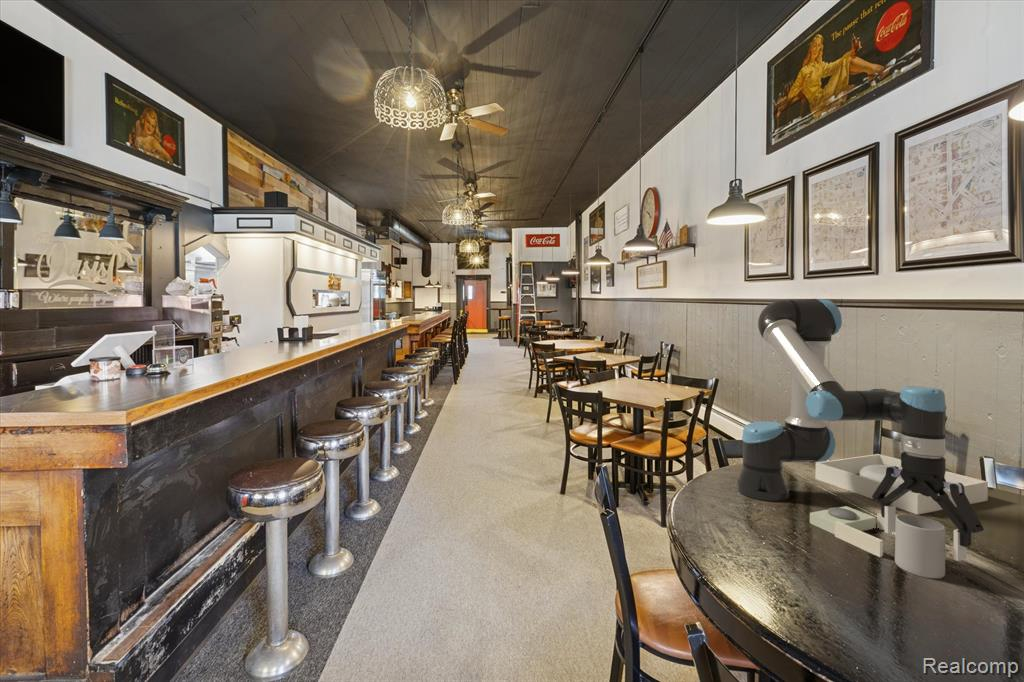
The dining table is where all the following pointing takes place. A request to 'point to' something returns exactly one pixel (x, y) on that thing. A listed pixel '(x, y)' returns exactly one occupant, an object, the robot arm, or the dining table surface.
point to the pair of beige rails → (851, 527)
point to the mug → (920, 546)
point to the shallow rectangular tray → (846, 478)
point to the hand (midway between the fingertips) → (922, 545)
